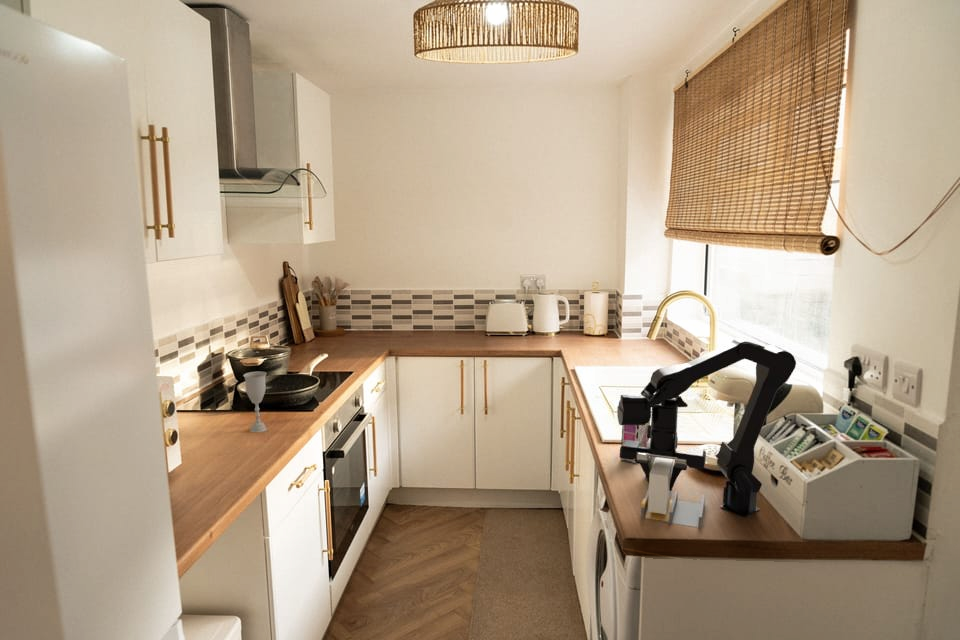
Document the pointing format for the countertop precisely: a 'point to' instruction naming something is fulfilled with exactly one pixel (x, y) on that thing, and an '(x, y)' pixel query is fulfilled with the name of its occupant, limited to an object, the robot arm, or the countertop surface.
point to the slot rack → (676, 512)
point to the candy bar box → (635, 436)
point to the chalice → (256, 395)
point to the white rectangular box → (660, 485)
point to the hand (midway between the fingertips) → (660, 489)
